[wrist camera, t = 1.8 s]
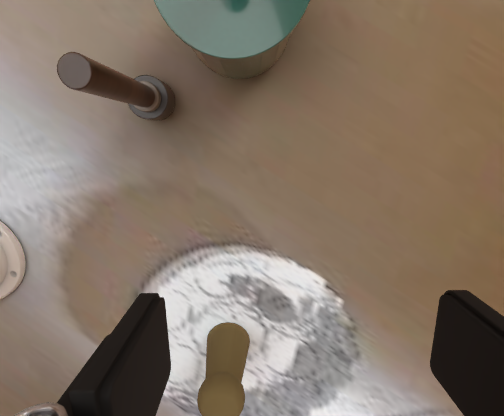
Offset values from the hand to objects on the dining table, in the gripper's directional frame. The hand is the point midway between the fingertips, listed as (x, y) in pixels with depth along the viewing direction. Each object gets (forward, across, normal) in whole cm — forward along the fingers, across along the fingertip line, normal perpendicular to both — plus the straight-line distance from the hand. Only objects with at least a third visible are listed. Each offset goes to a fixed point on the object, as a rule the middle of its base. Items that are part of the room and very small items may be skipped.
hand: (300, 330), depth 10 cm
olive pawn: (+27, +6, +22) cm, 35 cm away
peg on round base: (+27, +13, -10) cm, 32 cm away
